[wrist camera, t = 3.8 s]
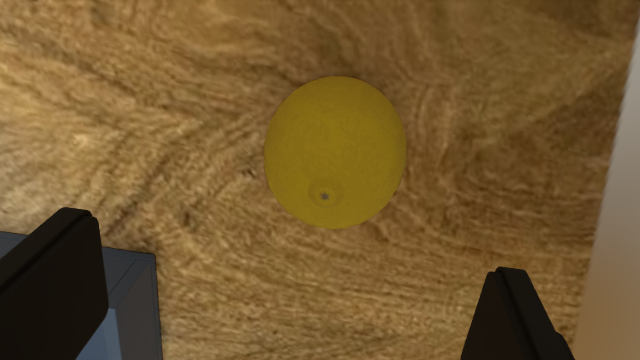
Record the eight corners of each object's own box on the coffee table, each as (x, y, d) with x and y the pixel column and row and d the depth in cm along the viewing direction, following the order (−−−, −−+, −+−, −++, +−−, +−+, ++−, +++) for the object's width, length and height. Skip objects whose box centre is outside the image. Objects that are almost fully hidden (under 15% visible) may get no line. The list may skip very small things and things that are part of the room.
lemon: (424, 90, 21) (446, 163, 14) (368, 187, 24) (363, 291, 16) (312, 35, 21) (277, 83, 14) (267, 141, 23) (217, 227, 16)
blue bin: (155, 254, 27) (115, 309, 23) (166, 401, 33) (135, 467, 29) (-52, 223, 28) (-127, 270, 24) (-6, 372, 33) (-60, 432, 29)
